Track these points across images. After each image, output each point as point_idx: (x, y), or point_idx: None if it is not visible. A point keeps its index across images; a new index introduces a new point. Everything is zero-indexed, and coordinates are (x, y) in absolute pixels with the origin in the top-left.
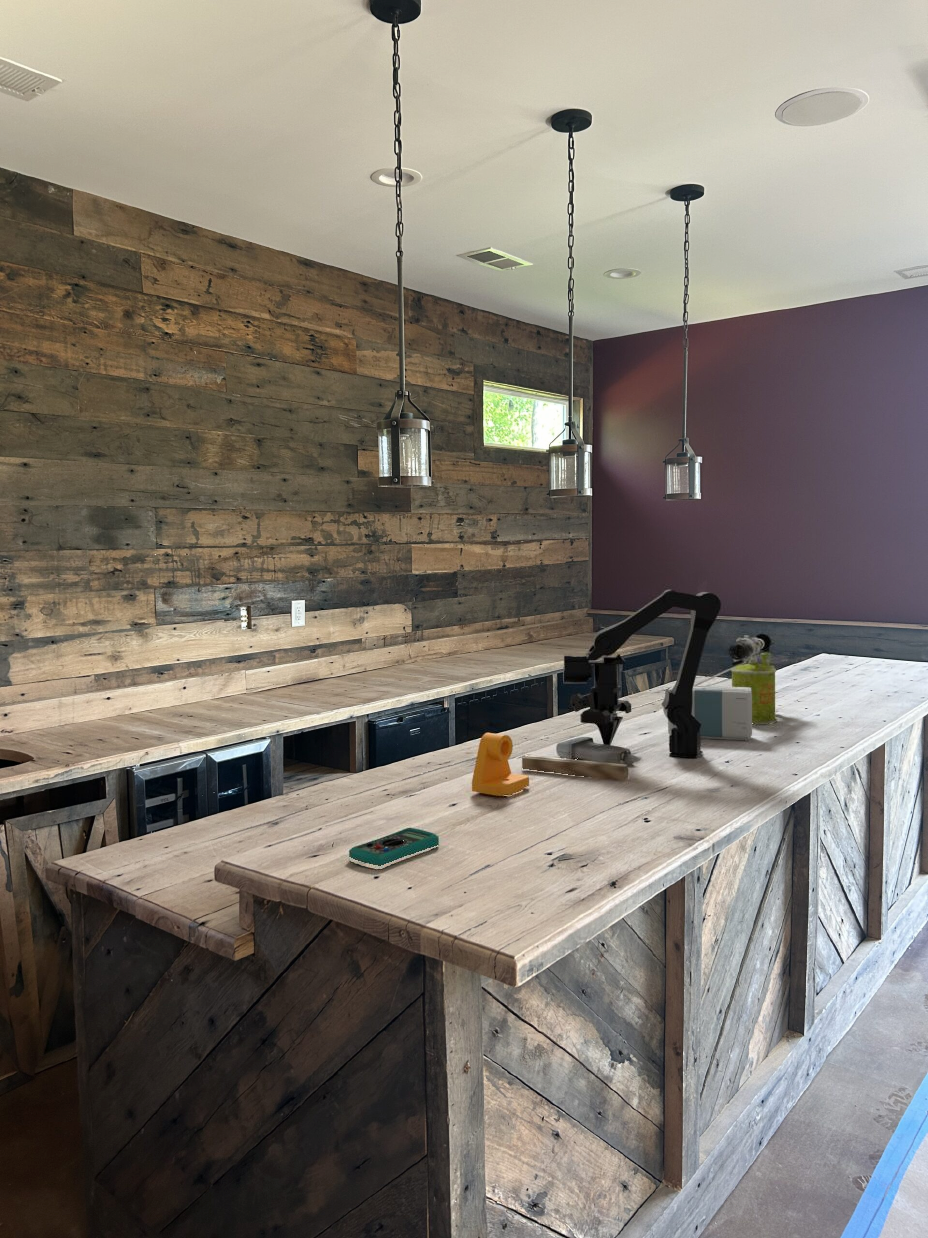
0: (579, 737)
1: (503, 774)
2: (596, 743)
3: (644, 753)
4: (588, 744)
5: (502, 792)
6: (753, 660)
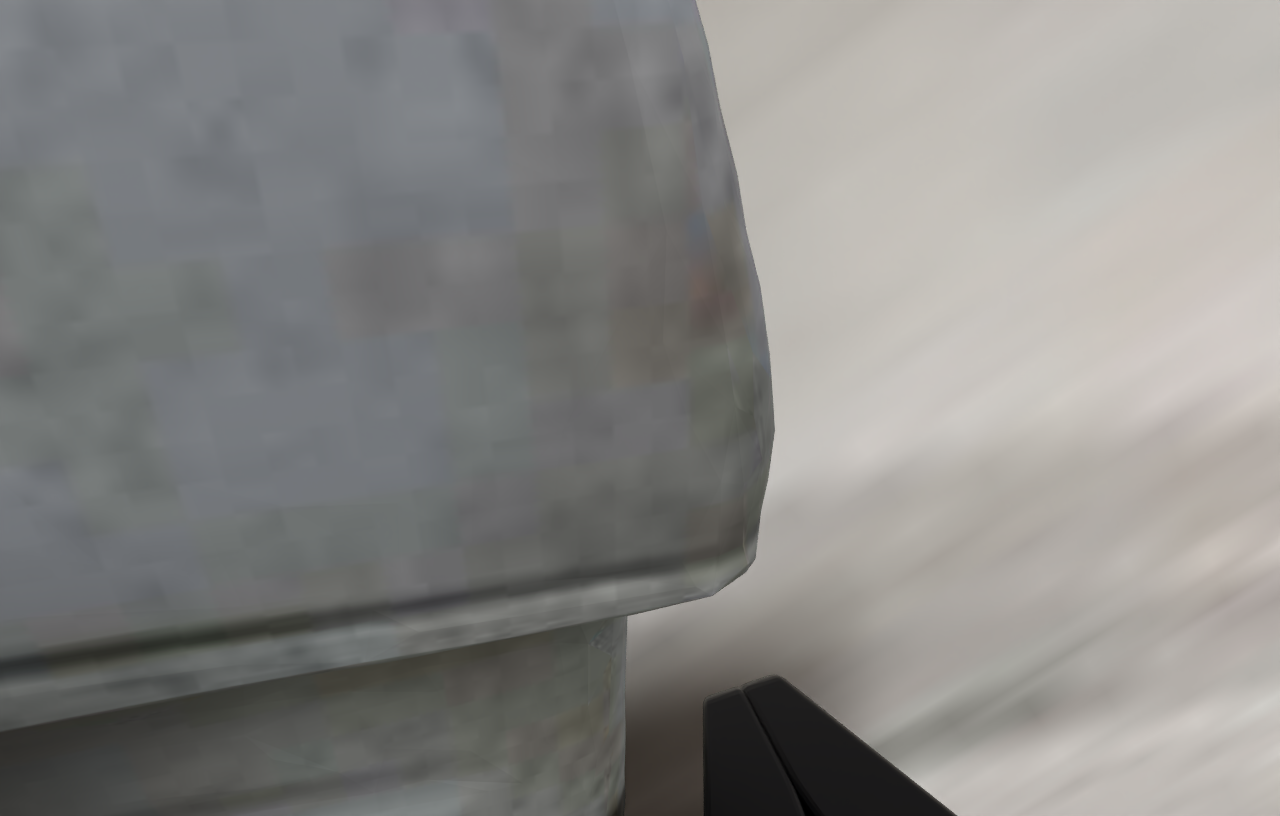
0: (496, 46)
1: None
2: (499, 757)
3: (1072, 785)
4: (68, 810)
5: None
6: None
